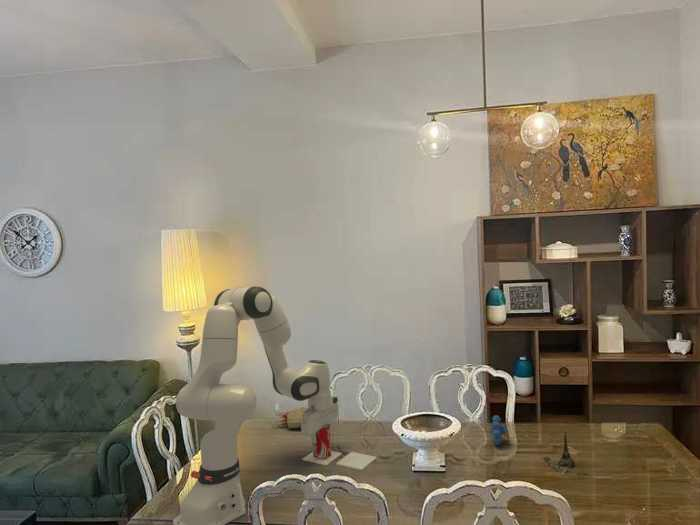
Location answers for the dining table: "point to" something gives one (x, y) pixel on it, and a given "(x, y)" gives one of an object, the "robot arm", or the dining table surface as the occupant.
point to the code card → (322, 461)
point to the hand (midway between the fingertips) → (321, 438)
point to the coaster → (356, 461)
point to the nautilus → (292, 418)
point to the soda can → (322, 443)
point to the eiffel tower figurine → (564, 462)
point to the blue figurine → (497, 430)
